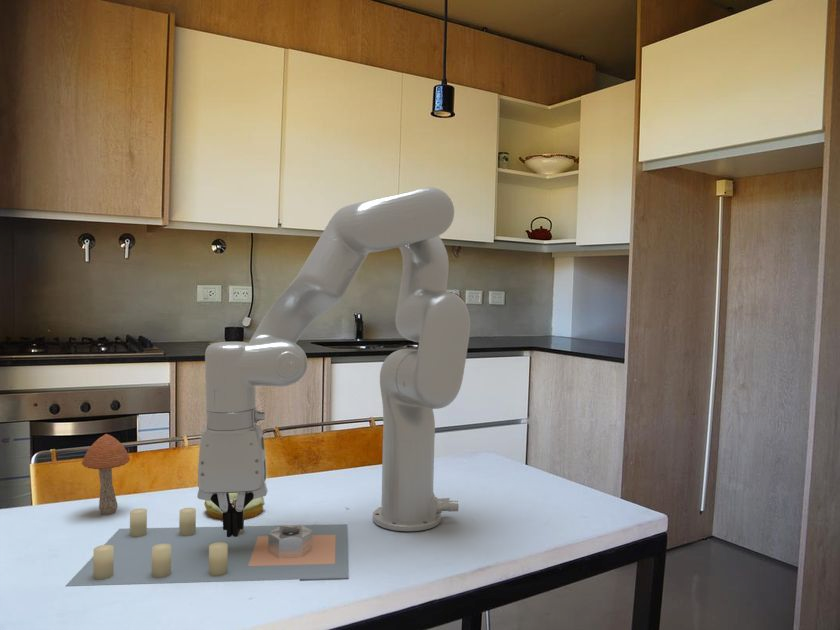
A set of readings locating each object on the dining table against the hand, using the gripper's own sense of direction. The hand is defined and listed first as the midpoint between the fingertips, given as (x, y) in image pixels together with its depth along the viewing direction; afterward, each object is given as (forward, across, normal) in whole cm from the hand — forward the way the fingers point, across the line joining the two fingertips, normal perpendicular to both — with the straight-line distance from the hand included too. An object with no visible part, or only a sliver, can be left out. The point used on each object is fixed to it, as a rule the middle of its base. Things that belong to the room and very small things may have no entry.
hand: (233, 533), depth 103 cm
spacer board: (+3, +1, 0) cm, 3 cm away
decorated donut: (+4, +3, -19) cm, 19 cm away
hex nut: (+3, -9, +1) cm, 9 cm away
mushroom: (+3, +26, -19) cm, 32 cm away
